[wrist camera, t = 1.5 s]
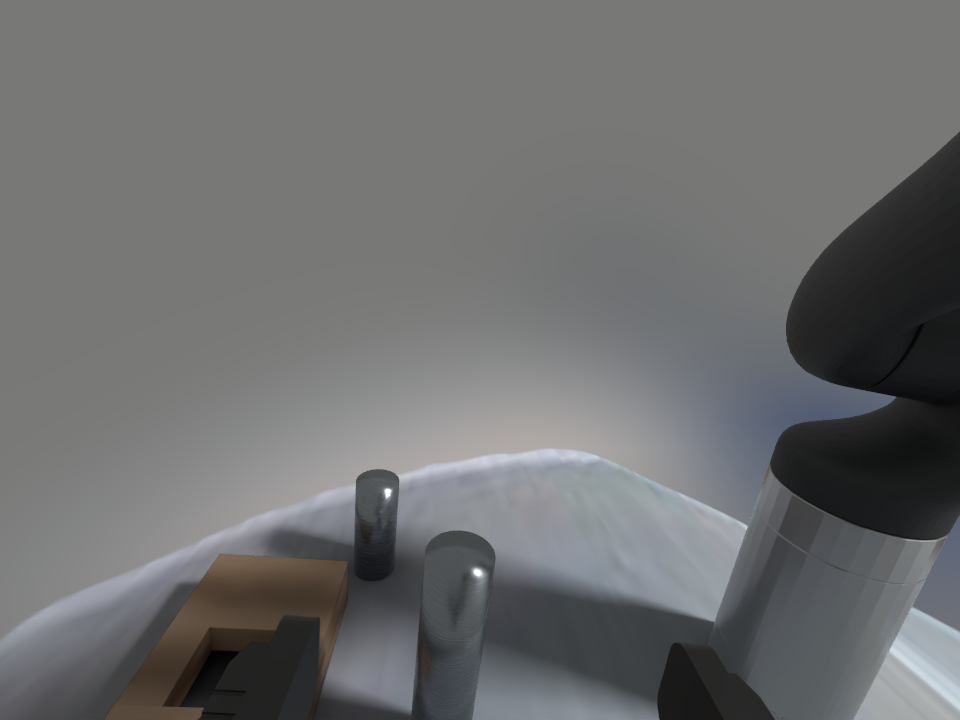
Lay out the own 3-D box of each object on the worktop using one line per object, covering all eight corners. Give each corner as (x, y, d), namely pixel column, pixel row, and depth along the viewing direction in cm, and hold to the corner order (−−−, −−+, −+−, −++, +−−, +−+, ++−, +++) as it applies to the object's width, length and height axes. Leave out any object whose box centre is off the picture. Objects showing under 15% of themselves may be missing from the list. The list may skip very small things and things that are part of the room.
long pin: (427, 711, 30) (446, 522, 25) (476, 739, 29) (505, 546, 24) (396, 766, 27) (411, 562, 22) (449, 801, 26) (477, 593, 21)
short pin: (370, 546, 44) (373, 465, 41) (401, 560, 43) (407, 477, 40) (345, 570, 41) (347, 484, 38) (378, 586, 39) (382, 498, 37)
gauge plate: (222, 593, 37) (219, 553, 36) (347, 599, 38) (348, 560, 36) (19, 923, 20) (0, 868, 19) (254, 922, 21) (250, 869, 19)
